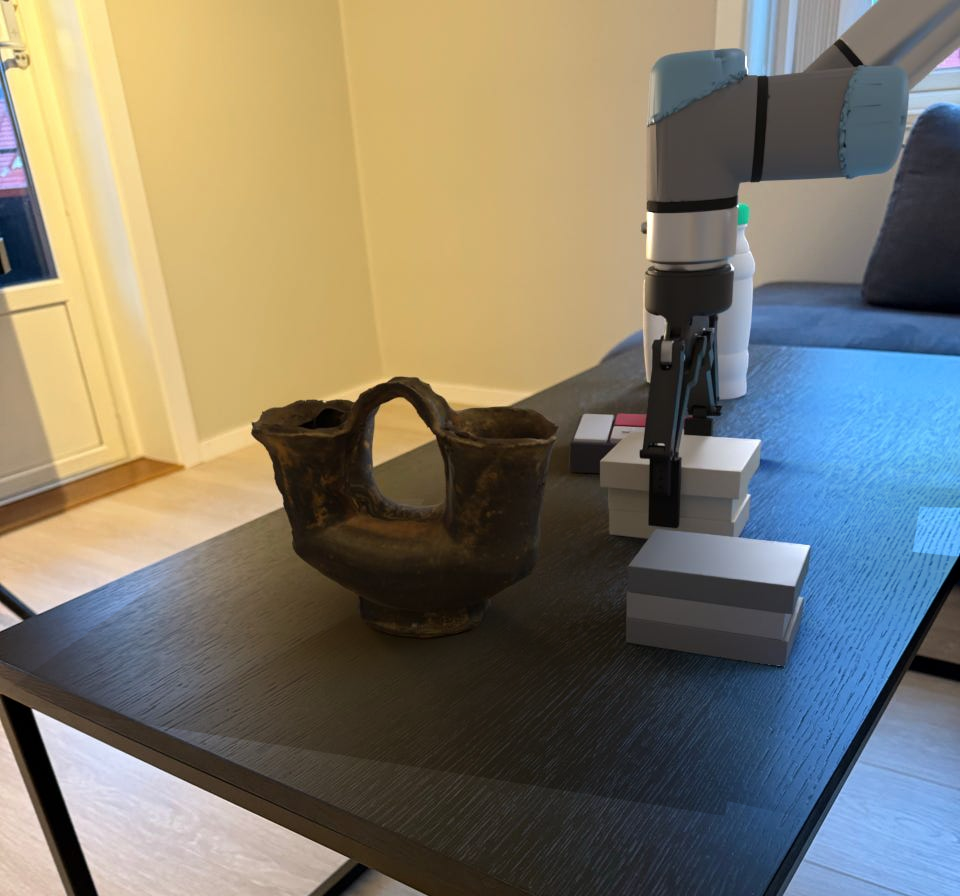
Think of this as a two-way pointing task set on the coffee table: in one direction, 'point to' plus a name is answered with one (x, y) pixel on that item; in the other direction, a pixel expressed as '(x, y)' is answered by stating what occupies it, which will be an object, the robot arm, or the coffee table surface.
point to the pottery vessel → (412, 529)
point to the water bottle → (736, 318)
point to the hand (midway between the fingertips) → (680, 502)
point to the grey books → (717, 595)
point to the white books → (694, 514)
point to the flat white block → (687, 465)
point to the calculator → (600, 438)
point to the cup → (651, 334)
